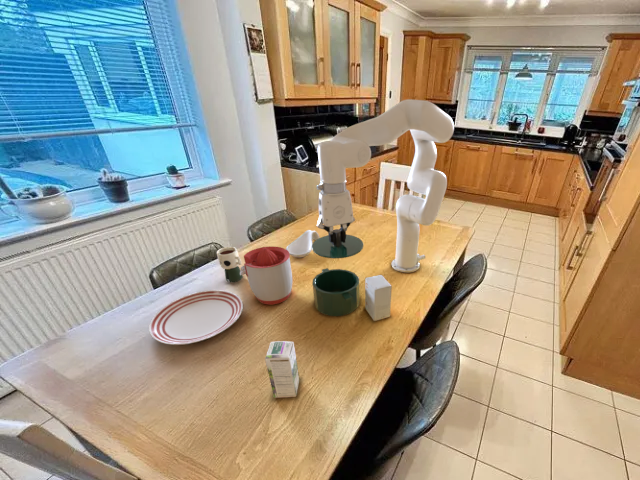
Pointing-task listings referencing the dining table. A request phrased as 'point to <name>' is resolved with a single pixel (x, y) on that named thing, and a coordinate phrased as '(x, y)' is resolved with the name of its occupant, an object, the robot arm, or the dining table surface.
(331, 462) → the dining table surface
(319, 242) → the lid
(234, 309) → the dinner plate
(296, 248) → the spoon rest
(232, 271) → the character mug
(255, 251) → the citrus juicer
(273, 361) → the syrup box
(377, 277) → the small box
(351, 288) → the pot
